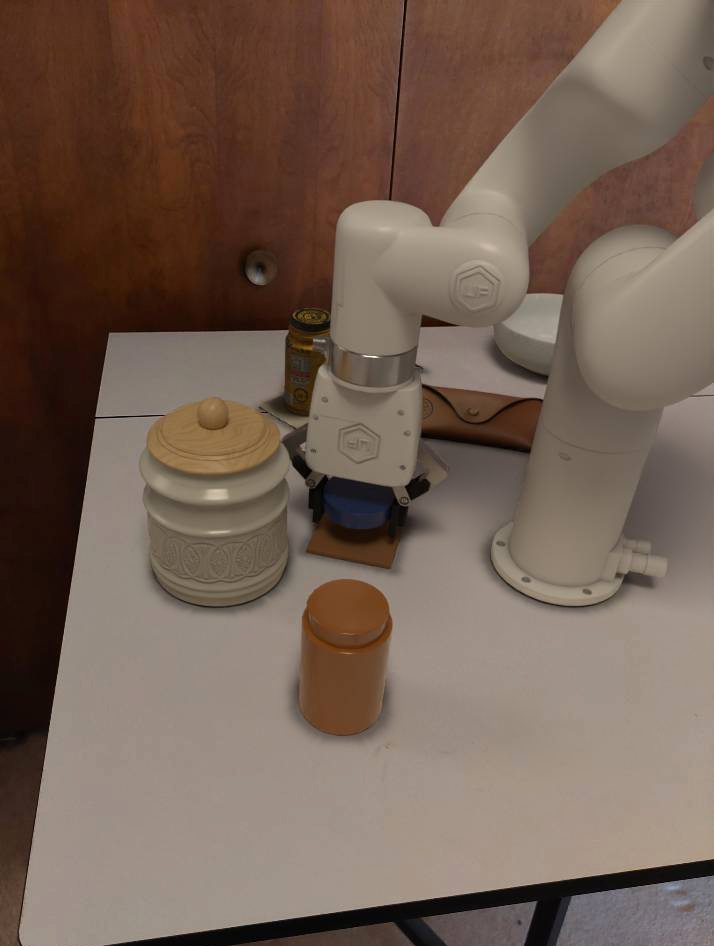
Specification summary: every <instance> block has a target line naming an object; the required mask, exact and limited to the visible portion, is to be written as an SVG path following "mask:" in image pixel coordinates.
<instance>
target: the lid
mask: <svg viewBox="0 0 714 946" xmlns="http://www.w3.org/2000/svg"><path fill="white" fill-rule="evenodd" d="M394 497H395V494H394V492H393V489H392V487H388V486H382V485H376V484H370V483H365V482H360V481H354V480H349V479H344V478H338V477H333V476H330V477H329V480H328V481H327V482H326V484H325V486H324V489H323V495H322V508H323V511H324V513H325V514H326V516H327V517H328V518H329V519H330V520H332V521H333V522H335V523H336V524H339V525H341V526H344V527H347V528H352V529H370V528H375V527H378V526H381V525H383V524H384V523H386V522H387V521H388V520H389V519H390V515H391V507H392V503H393V500H394Z"/></svg>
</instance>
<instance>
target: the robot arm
mask: <svg viewBox="0 0 714 946" xmlns="http://www.w3.org/2000/svg"><path fill="white" fill-rule="evenodd" d="M712 96H714V0H620V2H619V3H618V4H617V5H616V7H615V8H614V9H612V11H610V13H609V14H608V16H607V17H606V18H605V20H603V22H602V23H601V25H600V26H599V27H598V28H597V30H596V31H595V32H594V33H593V34H592V36H591V37H589V40H588V41H587V42H586V43H585V44H584V46H583V47H582V48H581V49H580V50H579V51H578V53H577V54H575V56H574V58H572V60H571V61H570V62H569V63H568V64H567V66H565V68H563V70H562V71H561V72H560V73H559V74H558V75H557V77H555V79H554V80H553V81H552V82H551V83H550V84H549V86H548V87H547V89H546V90H545V91H544V92H543V94H542V95H541V96H540V97H539V99H538V100H537V101H536V102H535V103H534V104H533V105H532V106H531V107H530V109H529V110H528V111H527V112H526V113H525V114H524V115H523V117H521V118H520V120H519V121H518V122H517V123H516V124H515V125H514V127H512V128H511V130H510V131H509V132H508V133H507V135H505V137H504V138H503V139H502V140H501V142H500V143H499V144H498V145H497V146H496V148H495V149H494V150H493V151H492V152H491V154H490V155H489V156H488V158H486V160H485V161H484V162H483V164H482V165H481V166H480V167H479V168H478V170H477V171H476V173H475V174H474V175H473V176H472V177H471V178H470V180H469V181H468V182H467V183H466V185H465V186H464V187H463V189H462V190H461V191H460V193H458V195H457V196H456V198H455V199H454V201H452V203H451V204H450V206H448V208H447V210H446V212H445V213H444V215H443V217H442V219H441V220H440V222H439V225H438V226H433V224H432V222H431V220H430V217H429V216H428V214H427V213H426V212H424V210H422V209H420V208H419V207H417V206H415V205H412V204H409V203H405V202H401V201H396V200H387V199H386V200H385V199H376V200H374V199H373V200H364V201H360V202H356V203H353V204H351V205H349V206H348V207H346V208H345V209H344V210H343V211H342V212H341V213H340V216H339V218H338V219H337V223H336V227H335V229H336V230H335V241H334V242H335V243H334V256H333V275H332V276H333V278H332V292H331V293H332V294H331V308H330V309H331V310H330V314H331V324H330V332H329V334H328V335H324V336H323V337H322V336H315V337H314V339H313V347H312V348H313V351H317V352H321V354H325V358H326V361H325V362H324V363H323V364H322V366H321V367H320V368H319V370H318V373H317V376H316V380H315V385H314V389H313V394H312V400H311V406H310V413H309V421H308V423H306V424H304V425H303V426H301V427H299V428H295V429H293V430H292V431H290V432H288V433H287V434H285V435H283V436H282V437H281V440H280V441H281V442H282V443H283V444H284V446H285V447H286V449H287V451H288V453H289V456H290V463H291V466H292V468H293V469H294V470H295V471H296V472H297V473H298V474H299V475H300V477H302V478H303V480H304V485H305V486H306V487H307V489H308V499H307V509H308V510H312V516H311V517H312V518H311V519H312V520H311V523H314V524H318V522H320V521H321V518H322V516H323V514H324V511H323V508H322V495H323V489H324V486H325V484H326V482H327V481H328V480H329V479H330V477H338V478H344V479H349V480H354V481H360V482H365V483H370V484H376V485H382V486H388V487H392V489H393V492H394V494H395V497H394V500H393V503H392V507H391V515H390V523H389V531H388V536H390V538H395V537H396V533H397V530H398V527H403V529H404V528H406V524H407V522H408V521H407V520H408V516H409V515H408V514H409V510H410V509H409V507H410V505H411V503H412V501H415V500H416V499H417V498H419V497H421V496H423V495H425V494H427V493H428V492H429V491H430V489H432V488H433V487H435V486H437V485H438V484H439V483H441V482H443V481H444V480H445V479H446V478H447V477H448V474H449V470H450V466H449V465H448V464H447V462H445V460H443V459H442V458H441V456H439V455H438V454H437V453H436V452H435V450H433V448H431V446H430V445H428V443H427V442H426V441H424V440H423V438H422V436H421V427H422V383H423V381H422V376H421V373H420V371H419V369H415V368H416V367H415V364H417V358H418V348H419V342H420V341H419V340H420V335H421V326H422V319H423V316H427V317H430V318H433V319H436V320H439V321H442V322H445V323H448V324H452V325H455V326H460V327H464V328H473V329H476V328H477V329H479V328H480V329H481V328H489V327H492V326H494V325H496V324H499V323H501V322H503V321H505V320H506V319H508V318H509V317H510V316H512V315H513V314H514V313H515V312H516V311H517V309H518V308H519V307H520V305H521V304H522V302H523V300H524V298H525V296H526V294H528V293H527V292H528V289H529V285H530V259H529V258H530V257H529V248H530V247H531V246H532V244H533V243H535V241H536V240H537V239H538V238H539V237H540V235H541V234H542V233H544V231H545V230H546V229H547V227H549V225H550V224H551V223H552V222H553V221H554V220H555V219H556V218H557V217H558V215H560V213H561V212H562V211H564V209H565V208H566V207H567V206H569V204H570V203H571V202H572V201H573V200H574V199H575V198H576V197H577V196H578V195H579V194H580V193H582V192H583V191H584V190H585V189H586V188H587V187H588V186H590V185H591V184H592V183H593V182H595V181H596V180H598V179H599V178H600V177H602V176H604V174H606V173H608V172H610V171H611V170H613V169H615V168H617V167H619V166H622V165H624V164H628V163H630V162H633V161H636V160H639V159H641V158H643V157H646V156H648V155H650V154H653V153H654V152H656V151H658V150H659V149H660V148H662V147H663V146H665V145H667V144H668V143H669V142H670V141H672V140H673V138H674V137H675V136H676V135H677V134H678V133H679V132H680V131H681V130H682V129H683V128H684V127H685V126H686V125H687V124H688V122H689V121H690V120H691V119H692V118H693V117H694V116H695V115H696V114H697V112H699V110H701V108H703V106H704V105H705V104H706V103H707V102H708V101H709V100H710V99H711V98H712ZM694 180H695V181H694V185H693V190H692V207H693V211H694V214H695V217H696V220H697V222H696V223H694V225H692V226H691V227H690V228H689V229H688V230H686V231H685V232H684V233H683V234H682V235H681V236H679V237H678V236H676V235H675V234H673V233H672V232H670V231H668V230H666V229H663V228H661V227H659V226H655V225H651V224H641V223H639V224H637V223H636V224H627V225H624V226H619V227H617V228H614V229H611V230H610V231H608V232H606V233H603V234H602V235H601V236H599V237H598V238H596V239H595V240H593V242H592V243H590V244H589V245H588V246H587V248H586V249H585V250H583V252H582V253H581V255H580V256H578V259H577V260H576V262H575V263H574V265H573V266H572V267H573V268H572V269H571V271H570V272H569V276H568V279H567V281H566V284H565V288H564V290H563V291H564V292H563V294H562V295H563V301H562V306H561V311H560V317H559V323H558V330H557V336H556V342H555V348H554V353H553V358H552V363H551V368H550V373H549V376H548V378H547V383H546V387H545V391H544V396H543V404H542V408H541V412H540V415H539V419H538V423H537V427H536V432H535V436H534V440H533V444H532V448H531V451H530V454H529V456H528V461H527V466H526V470H525V473H524V478H523V483H522V487H521V490H520V494H519V498H518V503H517V508H516V512H515V516H514V520H513V521H511V522H507V523H506V524H505V525H504V526H501V528H499V529H498V531H497V532H496V533H495V535H494V537H493V539H492V543H491V548H490V559H491V561H492V565H493V567H494V568H495V570H496V572H497V573H498V575H499V576H500V577H501V578H502V579H503V580H504V581H505V582H506V583H507V584H509V585H510V586H511V587H513V588H514V589H515V590H517V591H519V592H521V593H522V594H523V595H526V596H528V597H530V598H533V599H535V600H538V601H541V602H544V603H548V604H551V605H552V604H553V605H558V606H566V607H581V606H591V605H595V604H598V603H601V602H604V601H606V600H607V599H610V598H611V597H613V596H614V595H615V594H616V593H617V592H618V591H619V589H620V587H621V586H622V584H623V580H624V578H625V575H627V574H628V573H629V572H634V573H640V574H642V575H646V576H652V577H656V578H662V579H663V578H664V577H665V575H666V573H667V569H668V562H669V561H668V560H669V559H668V557H665V556H661V555H655V554H651V551H652V542H651V541H647V540H642V539H632V538H628V537H627V536H626V534H623V531H622V530H623V528H624V525H625V522H626V519H627V516H628V513H629V510H630V509H631V508H630V507H631V505H632V502H633V499H634V496H635V493H636V490H637V488H638V484H639V481H640V478H641V476H642V474H643V469H644V467H645V464H646V461H647V459H648V457H649V453H650V450H651V447H652V444H653V441H654V439H655V437H656V434H657V431H658V429H659V425H660V422H661V419H662V416H663V413H664V409H665V408H666V407H670V406H673V405H675V404H678V403H680V402H682V401H684V400H687V399H689V398H690V397H693V396H695V395H696V394H698V393H699V392H701V391H703V390H705V389H706V388H708V387H709V386H711V385H712V384H714V149H713V150H712V151H711V152H710V153H709V154H708V157H707V158H706V159H705V160H704V162H703V163H702V165H701V167H700V168H699V170H698V172H697V175H696V177H695V179H694ZM303 444H305V448H304V449H305V450H304V449H303V448H302V447H301V445H303ZM417 461H418V462H419V463H420V464H421V465H422V466H423V467H424V468H425V469H426V472H423V473H420V474H419V475H418V476H415V477H413V476H414V473H415V469H416V465H417ZM329 476H330V477H329Z"/></svg>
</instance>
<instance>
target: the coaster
mask: <svg viewBox="0 0 714 946" xmlns="http://www.w3.org/2000/svg"><path fill="white" fill-rule="evenodd" d="M389 523H390V519H389V520H388V521H387V522H386V523H384V524H383V525H381V526H378V527H375V528H370V529H352V528H347V527H344V526H341V525H339V524H336V523H335V522H333V521H332V520H330V519H329V518H328V517H327V516H326V514H325V513H324V514H323V516H322V518H321V521H320V522H318V523H316V524H317V525H316V527H315V529H314V531H313V534H312V536H311V538H310V540H309V543H308V544H307V546H306V549H305V552H306V553H308V554H314V555H318V556H322V557H328V558H332V559H337V560H343V561H348V562H353V563H357V564H362V565H367V566H373V567H378V568H383V569H387V570H391V568H392V566H393V561H394V558H395V556H396V551H397V548H398V545H399V542H400V539H401V536H402V532H403V530H404V528H403V527H398V530H397V533H396V537H395V538H390V536H388V531H389Z"/></svg>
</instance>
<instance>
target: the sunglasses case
mask: <svg viewBox="0 0 714 946" xmlns="http://www.w3.org/2000/svg"><path fill="white" fill-rule="evenodd" d="M543 400H544V398H539V397H520V396H512V395H507V394H506V395H505V394H500V393H494V392H487V391H479V390H471V389H464V388H456V387H447V386H438V385H437V386H436V385H430V384H427V383H423V382H422V427H421V437H428V438H434V439H440V440H448V441H456V442H461V443H468V444H474V445H480V446H485V447H492V448H500V449H507V450H508V449H509V450H517V451H525V452H526V451H527V452H531V448H532V444H533V440H534V436H535V432H536V427H537V423H538V419H539V415H540V412H541V408H542V404H543Z"/></svg>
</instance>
